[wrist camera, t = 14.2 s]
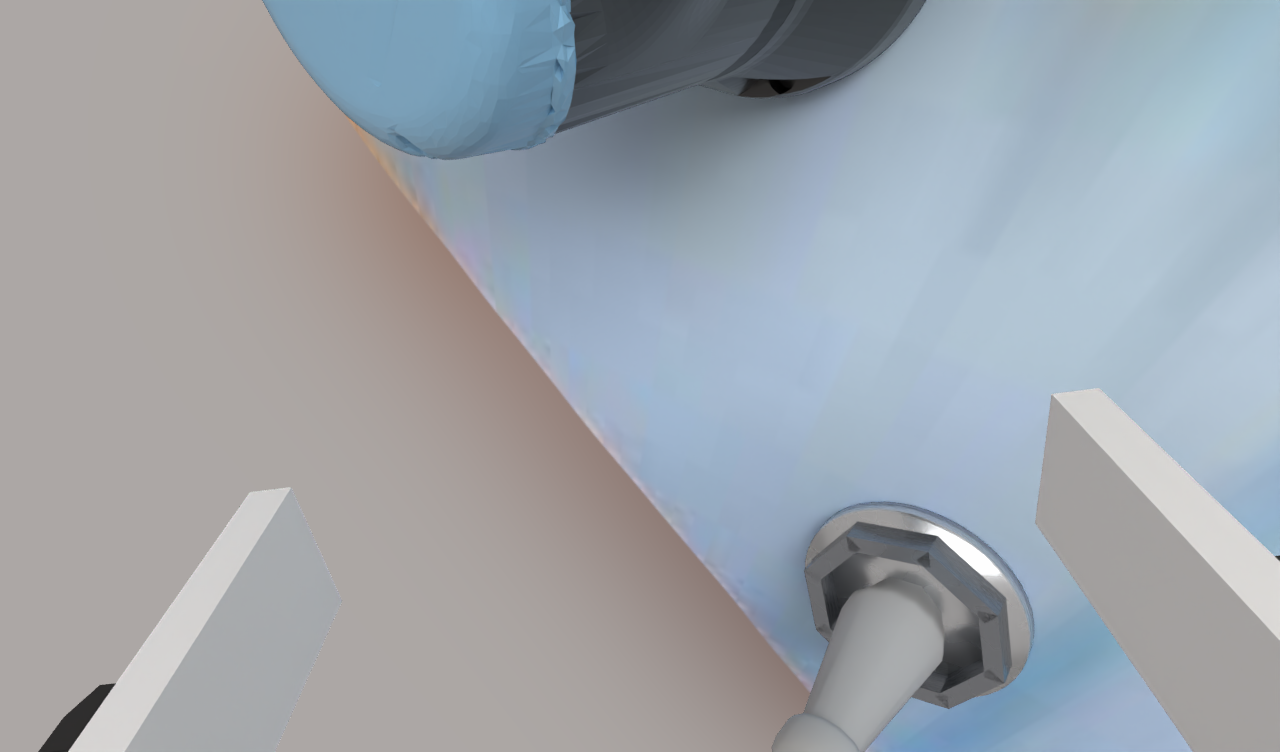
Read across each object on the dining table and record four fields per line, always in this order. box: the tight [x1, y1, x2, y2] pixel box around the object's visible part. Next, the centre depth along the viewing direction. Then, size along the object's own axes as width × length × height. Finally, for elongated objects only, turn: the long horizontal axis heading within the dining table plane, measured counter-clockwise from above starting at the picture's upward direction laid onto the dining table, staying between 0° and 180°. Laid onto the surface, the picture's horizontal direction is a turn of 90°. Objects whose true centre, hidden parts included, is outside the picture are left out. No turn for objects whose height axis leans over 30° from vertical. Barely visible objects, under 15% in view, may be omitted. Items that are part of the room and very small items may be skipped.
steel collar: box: [804, 502, 1034, 709], centre depth 45 cm, size 13×13×2 cm
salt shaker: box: [772, 577, 944, 752], centre depth 41 cm, size 6×6×13 cm
